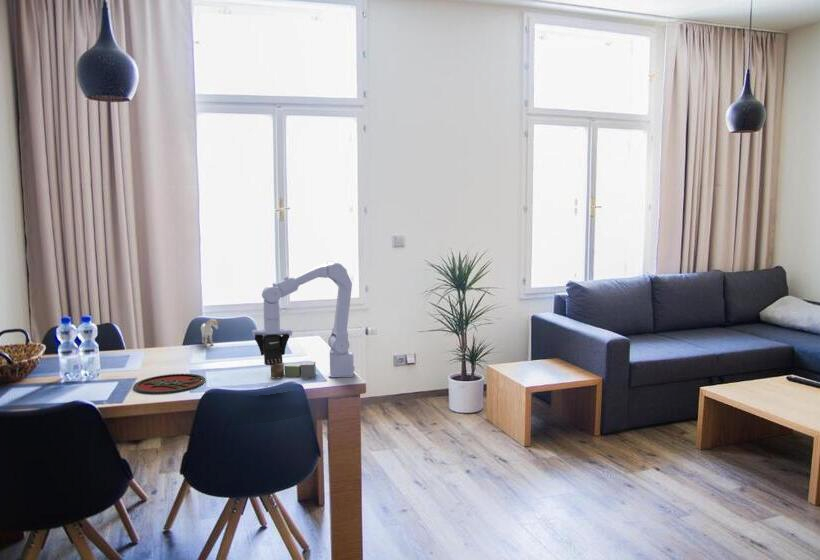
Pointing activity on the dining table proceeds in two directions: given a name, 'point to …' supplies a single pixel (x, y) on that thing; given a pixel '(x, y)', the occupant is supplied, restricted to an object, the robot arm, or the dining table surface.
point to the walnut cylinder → (277, 370)
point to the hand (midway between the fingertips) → (273, 354)
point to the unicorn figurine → (208, 330)
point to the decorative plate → (169, 383)
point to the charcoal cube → (308, 369)
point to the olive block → (292, 369)
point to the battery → (272, 349)
